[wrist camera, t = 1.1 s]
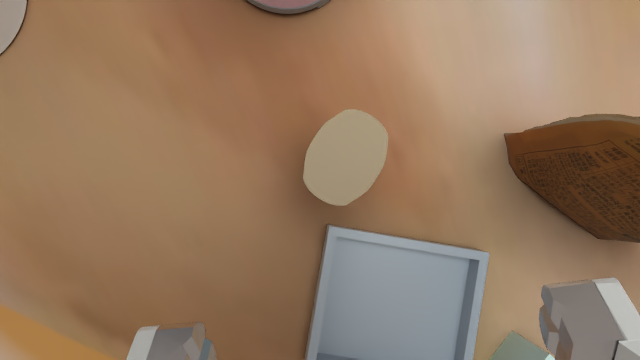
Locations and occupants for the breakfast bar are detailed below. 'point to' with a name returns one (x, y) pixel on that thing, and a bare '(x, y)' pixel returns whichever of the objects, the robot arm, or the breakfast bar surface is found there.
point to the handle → (345, 157)
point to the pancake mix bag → (585, 170)
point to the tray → (395, 298)
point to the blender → (288, 5)
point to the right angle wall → (519, 350)
